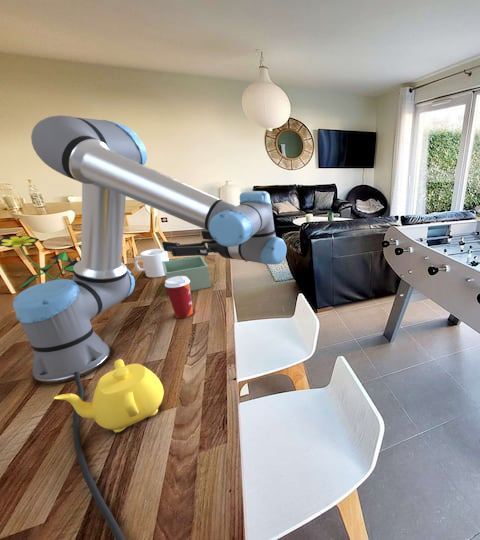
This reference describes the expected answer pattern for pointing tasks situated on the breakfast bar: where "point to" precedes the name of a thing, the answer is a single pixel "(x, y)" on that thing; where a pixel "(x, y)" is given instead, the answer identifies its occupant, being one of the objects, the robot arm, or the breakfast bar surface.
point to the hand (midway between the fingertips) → (184, 240)
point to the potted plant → (29, 241)
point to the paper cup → (180, 295)
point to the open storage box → (189, 271)
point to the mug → (152, 262)
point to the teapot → (121, 397)
